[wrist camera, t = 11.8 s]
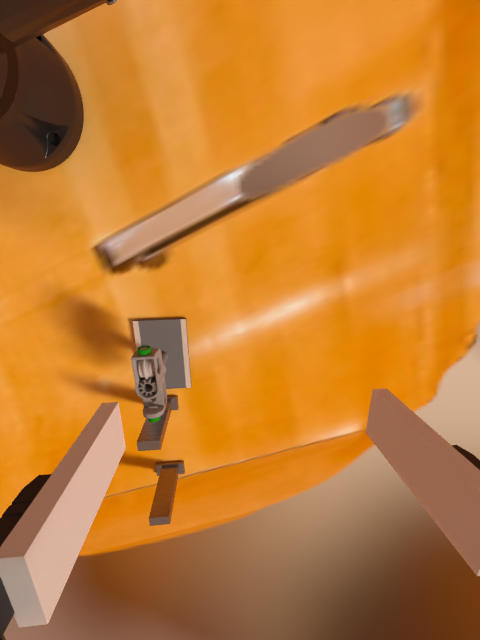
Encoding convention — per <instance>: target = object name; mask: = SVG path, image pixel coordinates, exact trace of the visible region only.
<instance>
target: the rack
mask: <svg viewBox="0 0 480 640" xmlns="http://www.w3.org/2000/svg"><path fill="white" fill-rule="evenodd" d="M178 408H179V407H178V397H177V396H167V404H166V408H165V411H164V413H163V414H162V415H161V416H160V417H161V418H160V420H159V421H157V422H154V423H151V422H149V421H148V418H146V420H145V423H144V425H143V428H142V430H141V433H140V435H139V438H138V440H137V446H138V451H145V450H159V449H161V446H162V442H163V439H164V435H165V431H166V428H167V424H168V420H169V417H170V413H171V410H178ZM156 471H157V476H159V479H158V483H157V488H156V492H155V496H154V500H153V504H152V508H151V512H150V516H149V522H150V526H152V525H163V524H170V521H171V515H172V509H173V503H174V497H175V491H176V485H177V479H178V474H184V472H185V469H184V461H174V462H162V463H156Z"/></svg>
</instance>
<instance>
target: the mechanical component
mask: <svg viewBox="0 0 480 640" xmlns="http://www.w3.org/2000/svg"><path fill="white" fill-rule="evenodd" d="M162 353H163V356H162ZM162 353H161V350H160V349H151V347H150V346H147V345H146V346H140V347H138V348H137V352H135V353H134V355H133V356H132V358H131V360H132V366H133V372H134V378H135V384H136V386H135V391H136V393H137V395H138V396H139V397H141V398H143V403H144V409H143V415H144V417H145V418H148V421H149V422H151V423H154V422H157V421H159V420H160V418H161V417H160V416H161V415H162V414H163V413H164V411H165V408H166V404H167V392H166V384H165V376H164V374H165V373H166V367H165V363H166V361H167V358H168V354H167V352H162ZM138 374H139V375H138Z"/></svg>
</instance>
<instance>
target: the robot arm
mask: <svg viewBox="0 0 480 640" xmlns="http://www.w3.org/2000/svg"><path fill="white" fill-rule="evenodd" d="M116 1H117V0H0V164H2V165H4V166H7V167H10V168H13V169H16V170H21V171H28V172H38V171H44V170H48V169H51V168H54V167H56V166H58V165H59V164H61V163H62V162H64V161H65V160H66V159H67V158H68V157H69V156H70V155H71V154H72V152H73V151H74V149H75V148H76V146H77V144H78V142H79V139H80V136H81V133H82V128H83V103H82V98H81V94H80V90H79V87H78V84H77V82H76V80H75V77H74V75H73V73H72V71H71V70H70V68H69V66H68V65H67V63H66V62H65V60H64V59H63V57H62V56H61V55H60V54H59V53H58V51H57V50H56V49H55V48H54V47H53V45H52V44H51V43H50V42H49V41H48V40H47V38H46V37H45V36H44V35H43V34H44V33H46V32H48V31H50V30H52V29H54V28H56V27H58V26H60V25H62V24H64V23H66V22H68V21H70V20H72V19H74V18H76V17H78V16H80V15H82V14H84V13H86V12H88V11H90V10H92V9H94V8H96V7H98V6H100V5H102V4H104V3H107V4H108V5H112V4H114V3H115V2H116ZM366 433H367V435H368V436H369V437H370V438H371V440H372V441H373V442H374V444H375V445H376V446H377V448H378V449H379V450H380V451H381V452H382V454H383V455H384V457H385V458H386V459H387V460H388V462H389V463H390V464H391V466H392V467H393V468H394V469H395V471H396V472H397V473H398V475H399V476H400V477H401V478H402V480H403V481H404V482H405V484H406V485H407V486H408V487H409V489H410V490H411V491H412V493H413V494H414V495H415V497H416V498H417V499H418V500H419V502H420V503H421V504H422V506H423V507H424V508H425V510H426V511H427V512H428V513H429V515H430V516H431V517H432V519H433V520H434V521H435V522H436V524H437V525H438V526H439V528H440V529H441V530H442V531H443V533H444V534H445V535H446V537H447V538H448V539H449V541H450V542H451V543H452V544H453V546H454V547H455V548H456V550H457V551H458V552H459V553H460V555H461V556H462V557H463V558H464V560H465V561H466V562H467V563H468V565H469V566H470V567H471V569H472V570H473V572H474V573H475V574H476V575H477V576H480V460H479V459H478V458H476V457H475V456H474V455H473V454H471V453H469V452H468V451H466V450H464V449H462V448H461V447H459V446H457V445H450V444H449V443H448V442H447V441H446V440H445V439H443V438H442V437H441V436H440V435H439V434H438V433H437V432H435V431H434V430H433V429H432V428H431V427H430V426H429V425H427V424H426V423H425V422H424V421H423V420H422V419H421V418H419V417H418V416H417V415H416V414H415V413H414V412H413V411H411V410H410V409H409V408H408V407H407V406H406V405H405V404H403V403H402V402H401V401H400V400H399V399H398V398H397V397H395V396H394V395H393V394H392V393H391V392H390V391H389V390H387V389H373V391H372V397H371V403H370V409H369V416H368V422H367V428H366ZM125 448H126V447H125V440H124V434H123V428H122V422H121V415H120V409H119V403H118V402H114V403H102V404H101V406H100V407H99V408H98V410H97V411H96V413H95V414H94V416H93V417H92V418H91V420H90V421H89V423H88V424H87V425H86V427H85V428H84V430H83V431H82V432H81V434H80V435H79V437H78V438H77V440H76V441H75V442H74V444H73V445H72V447H71V448H70V449H69V451H68V452H67V454H66V455H65V456H64V458H63V459H62V461H61V462H60V464H59V465H58V466H57V468H56V469H55V471H54V472H53V473H52V474H49V475H39V476H37V477H36V478H35V479H34V480H33V481H31V482H30V483H29V484H28V485H27V486H25V487H24V488H23V489H22V491H21V492H20V493H19V494H18V496H17V497H16V498H15V500H14V501H13V502H12V505H11V506H9V507H8V508H7V510H6V511H5V512H4V514H3V515H2V518H0V640H6V639H5V637H4V635H3V633H4V631H5V630H6V628H7V626H8V624H9V622H10V621H11V618H12V617H13V615H14V616H15V619H16V621H17V623H18V626H19V627H26V626H35V625H44V624H48V622H49V620H50V618H51V615H52V613H53V611H54V609H55V606H56V604H57V602H58V600H59V597H60V595H61V593H62V591H63V588H64V586H65V584H66V581H67V579H68V577H69V575H70V572H71V570H72V568H73V565H74V563H75V561H76V559H77V557H78V554H79V552H80V550H81V548H82V545H83V543H84V541H85V539H86V536H87V534H88V532H89V530H90V527H91V525H92V523H93V521H94V518H95V516H96V514H97V511H98V509H99V507H100V505H101V502H102V500H103V498H104V496H105V493H106V491H107V489H108V487H109V484H110V482H111V480H112V478H113V475H114V473H115V471H116V469H117V466H118V464H119V462H120V460H121V457H122V455H123V453H124V451H125Z"/></svg>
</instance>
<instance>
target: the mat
mask: <svg viewBox="0 0 480 640" xmlns="http://www.w3.org/2000/svg"><path fill="white" fill-rule="evenodd" d="M133 328H134V335H135V342H136V349H137V348H138V347H140V346H146V345H147V346H150V347H151V349H160V350H161V353H162V352H167V354H168V358H167V361H166V363H165V367H166V373H165V374H164V376H165V384H166V389H171V388H191V375H190V362H189V350H188V337H187V324H186V318H175V319H149V320H133ZM162 356H163V353H162Z"/></svg>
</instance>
